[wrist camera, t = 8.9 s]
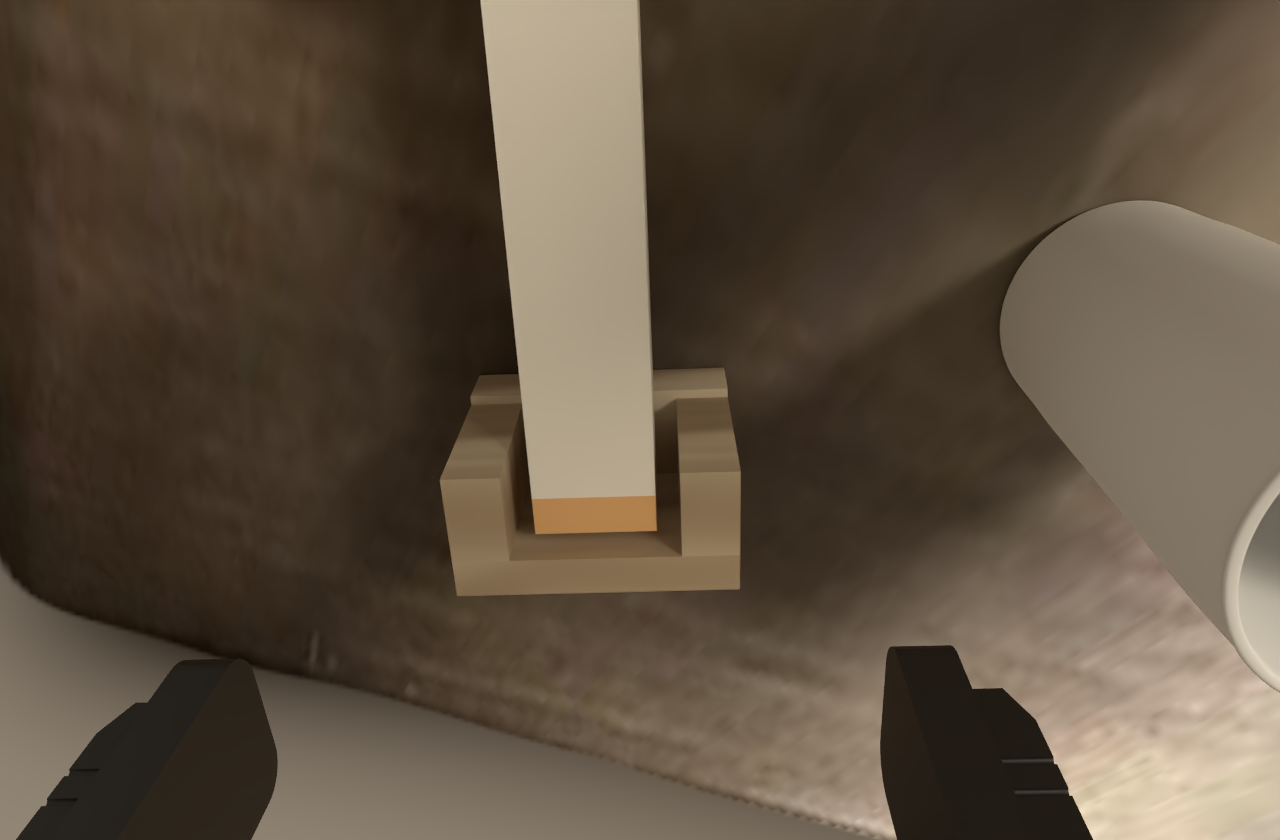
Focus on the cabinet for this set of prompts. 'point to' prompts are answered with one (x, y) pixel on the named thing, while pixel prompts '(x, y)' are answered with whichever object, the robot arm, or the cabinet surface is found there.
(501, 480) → the socket
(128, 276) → the cabinet surface
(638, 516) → the cream square bar
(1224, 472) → the mug
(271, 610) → the cabinet surface
